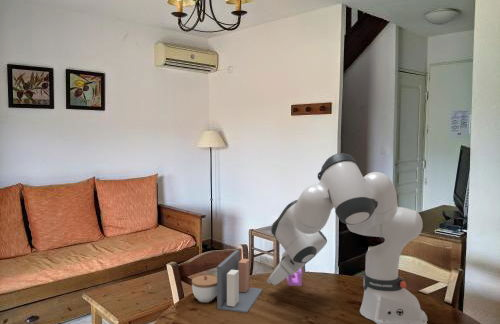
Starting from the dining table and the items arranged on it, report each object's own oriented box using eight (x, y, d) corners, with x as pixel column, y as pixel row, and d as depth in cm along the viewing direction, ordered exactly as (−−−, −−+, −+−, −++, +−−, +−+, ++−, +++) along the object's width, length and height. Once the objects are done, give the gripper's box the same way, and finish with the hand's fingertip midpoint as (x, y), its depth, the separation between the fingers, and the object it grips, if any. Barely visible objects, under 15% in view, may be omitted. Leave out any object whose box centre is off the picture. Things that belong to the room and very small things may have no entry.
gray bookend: (262, 290, 165) (262, 252, 164) (247, 312, 144) (247, 269, 143) (236, 287, 168) (236, 249, 167) (217, 308, 147) (217, 266, 146)
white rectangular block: (238, 301, 152) (238, 270, 151) (234, 306, 147) (234, 274, 146) (231, 300, 152) (231, 269, 152) (226, 305, 148) (226, 273, 147)
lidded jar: (225, 299, 156) (225, 275, 156) (204, 307, 148) (204, 282, 148) (207, 291, 164) (207, 269, 163) (186, 299, 156) (185, 275, 155)
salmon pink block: (249, 287, 165) (249, 259, 164) (245, 292, 160) (245, 263, 159) (242, 287, 166) (242, 258, 165) (238, 291, 161) (238, 262, 160)
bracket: (301, 285, 170) (301, 269, 170) (288, 285, 170) (288, 269, 170) (297, 275, 183) (297, 260, 183) (285, 275, 183) (285, 260, 183)
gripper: (292, 246, 167) (269, 267, 171) (281, 261, 148) (256, 284, 151) (302, 257, 166) (279, 278, 170) (293, 274, 147) (267, 297, 150)
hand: (268, 281), depth 160 cm, fingers closed
